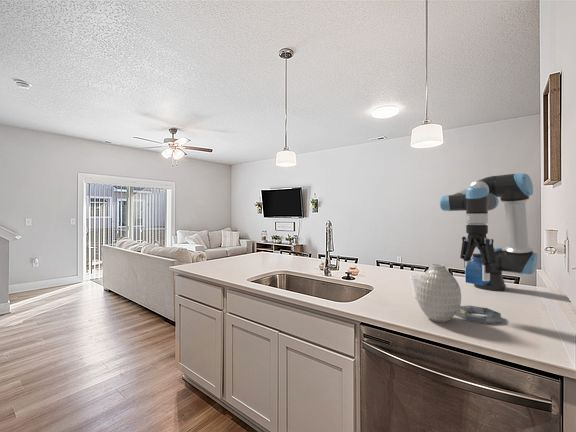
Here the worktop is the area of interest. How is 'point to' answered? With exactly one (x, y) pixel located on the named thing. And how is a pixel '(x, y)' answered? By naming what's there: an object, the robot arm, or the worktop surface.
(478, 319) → the ring
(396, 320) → the worktop surface
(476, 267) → the perfume bottle
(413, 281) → the cup
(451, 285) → the vase
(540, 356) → the worktop surface
